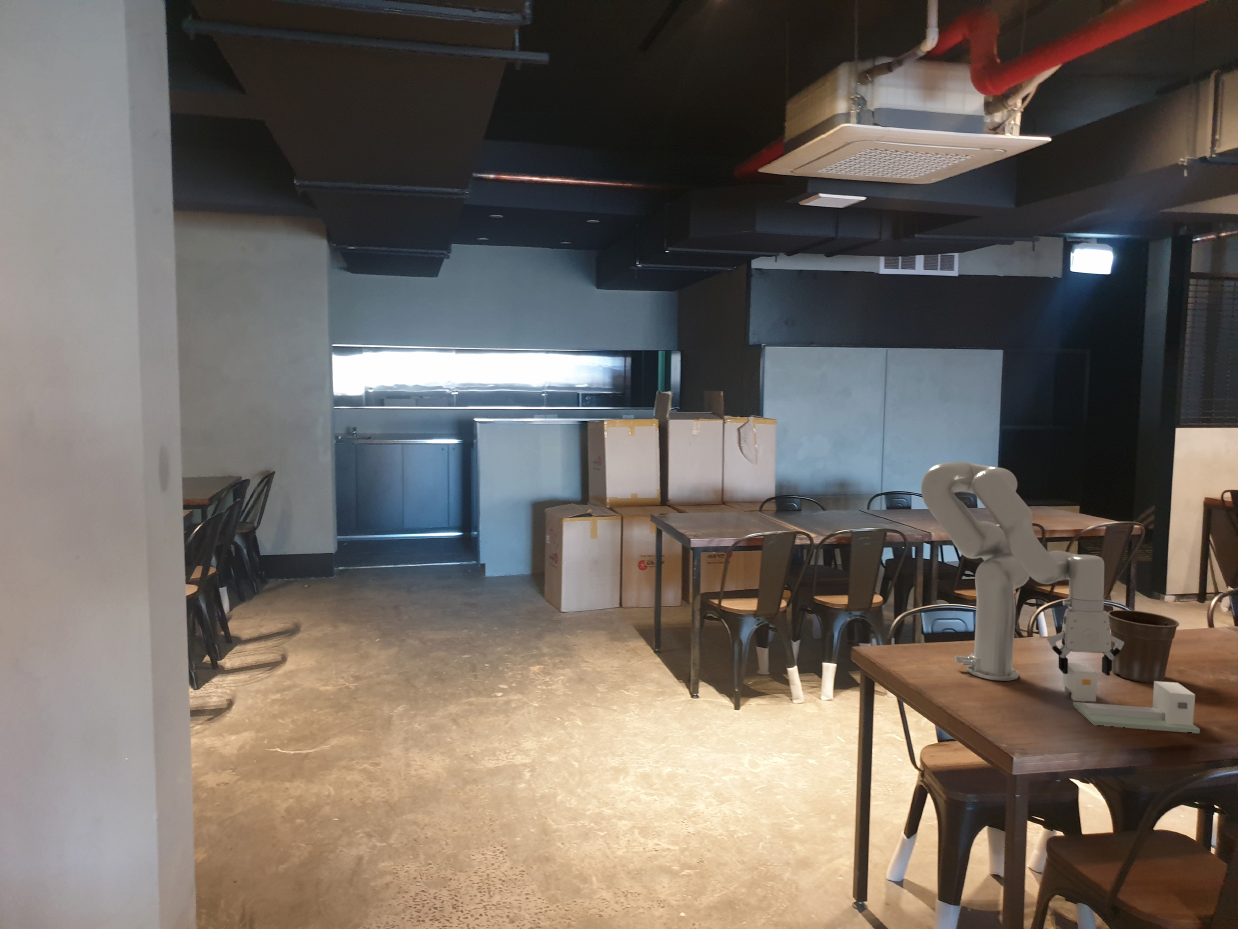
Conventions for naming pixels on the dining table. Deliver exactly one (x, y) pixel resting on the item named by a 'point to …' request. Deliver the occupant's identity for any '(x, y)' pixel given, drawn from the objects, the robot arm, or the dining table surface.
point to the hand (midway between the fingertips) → (1084, 673)
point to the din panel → (1134, 722)
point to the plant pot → (1142, 644)
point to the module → (1080, 682)
